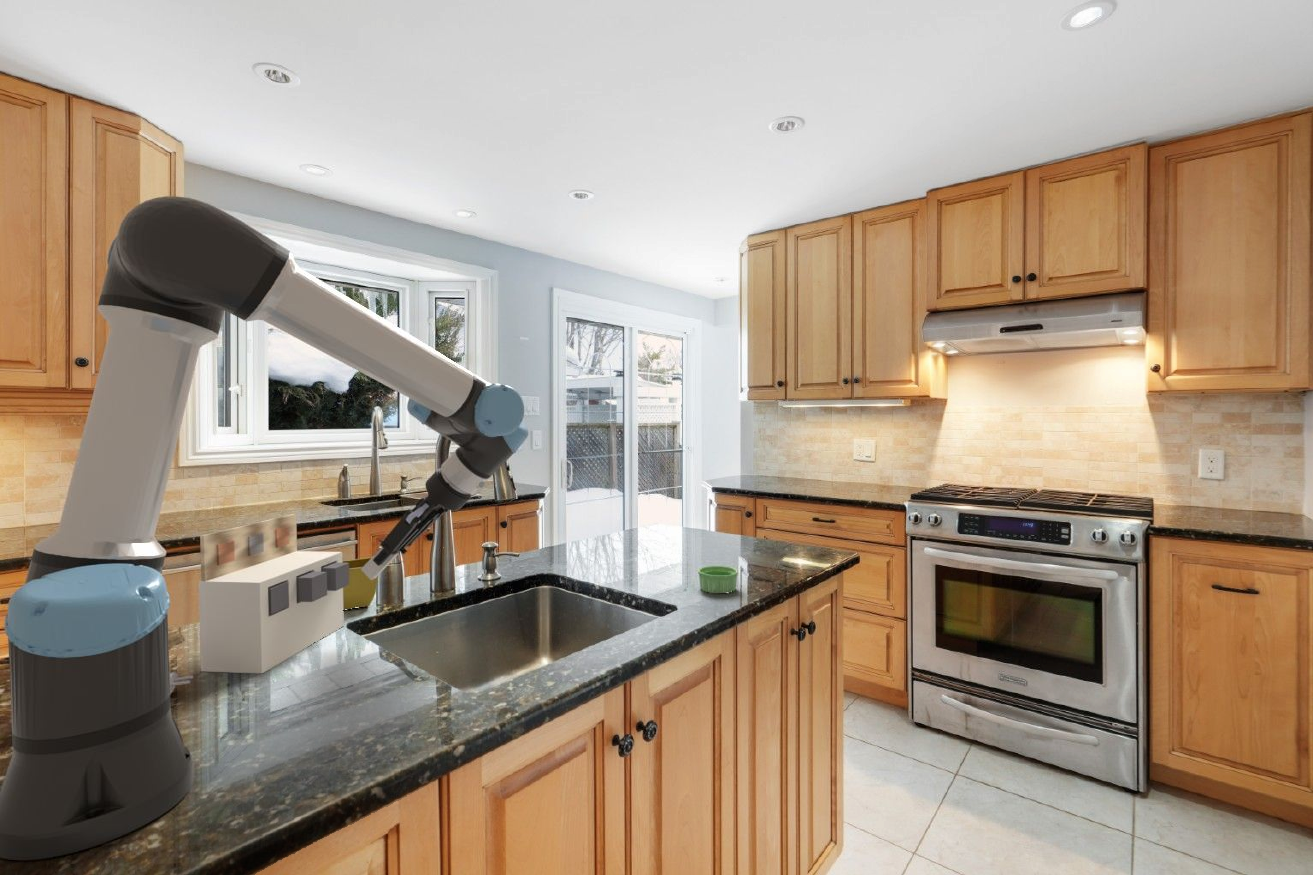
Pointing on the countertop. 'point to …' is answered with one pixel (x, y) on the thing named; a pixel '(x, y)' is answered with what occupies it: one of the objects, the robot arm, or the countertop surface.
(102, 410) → the robot arm
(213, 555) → the pattern sign
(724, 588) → the ramekin
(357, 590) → the flower pot
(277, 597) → the left button
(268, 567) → the console
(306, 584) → the middle button
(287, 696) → the countertop surface
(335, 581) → the right button
